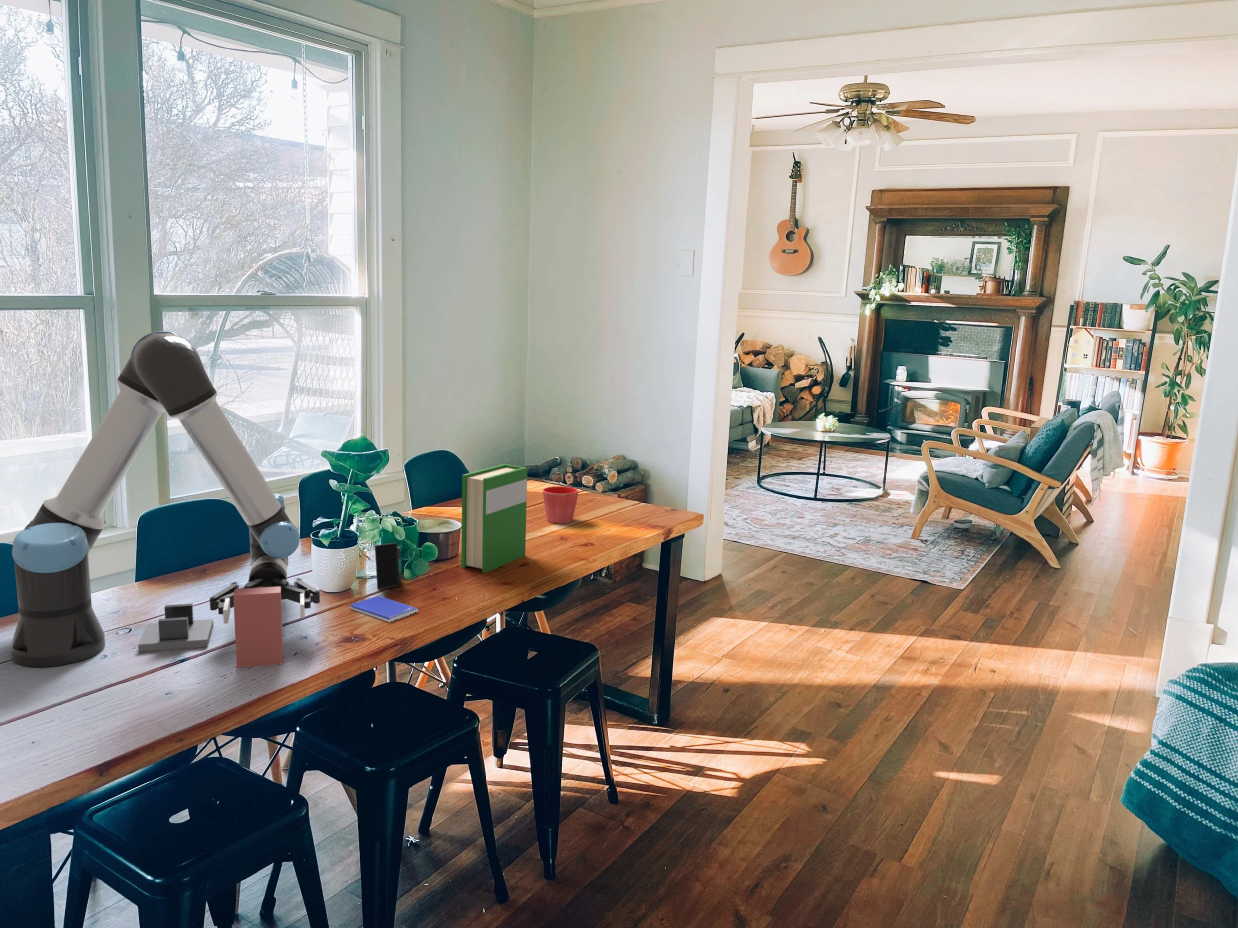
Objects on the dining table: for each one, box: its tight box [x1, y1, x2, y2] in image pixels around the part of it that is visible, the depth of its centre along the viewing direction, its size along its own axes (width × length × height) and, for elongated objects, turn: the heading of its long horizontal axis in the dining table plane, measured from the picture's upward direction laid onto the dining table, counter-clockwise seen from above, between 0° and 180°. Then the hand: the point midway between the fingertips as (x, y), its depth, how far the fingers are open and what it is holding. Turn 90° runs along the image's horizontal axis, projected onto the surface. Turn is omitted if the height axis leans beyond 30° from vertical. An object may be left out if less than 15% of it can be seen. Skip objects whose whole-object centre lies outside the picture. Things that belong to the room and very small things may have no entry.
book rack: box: [137, 603, 214, 653], centre depth 181 cm, size 12×11×6 cm
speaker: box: [374, 542, 403, 590], centre depth 218 cm, size 8×6×10 cm
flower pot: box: [542, 485, 580, 524], centre depth 281 cm, size 11×11×10 cm
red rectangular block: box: [233, 586, 284, 669], centre depth 171 cm, size 8×4×14 cm, turn 108°
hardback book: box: [460, 463, 528, 574], centre depth 237 cm, size 18×7×24 cm, turn 151°
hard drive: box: [350, 595, 419, 623], centre depth 202 cm, size 2×8×12 cm
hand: (264, 614), depth 174 cm, fingers open, 13 cm apart
